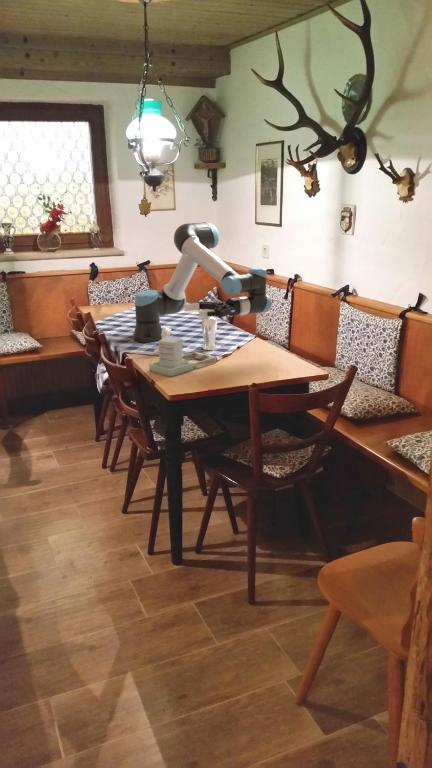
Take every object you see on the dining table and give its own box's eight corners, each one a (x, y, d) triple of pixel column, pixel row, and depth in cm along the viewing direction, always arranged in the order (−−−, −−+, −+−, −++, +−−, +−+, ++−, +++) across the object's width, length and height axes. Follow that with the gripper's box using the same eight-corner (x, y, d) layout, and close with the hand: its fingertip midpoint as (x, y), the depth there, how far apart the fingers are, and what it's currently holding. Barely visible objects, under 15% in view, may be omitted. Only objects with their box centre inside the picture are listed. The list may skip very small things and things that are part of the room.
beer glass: (215, 351, 275) (215, 319, 270) (200, 350, 276) (200, 318, 272) (218, 347, 282) (218, 316, 277) (204, 346, 283) (203, 315, 278)
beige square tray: (174, 363, 257) (174, 357, 256) (195, 357, 266) (194, 351, 265) (195, 369, 249) (195, 363, 248) (216, 362, 258) (216, 357, 257)
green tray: (149, 370, 247) (149, 363, 246) (171, 364, 256) (171, 357, 255) (170, 377, 239) (170, 370, 238) (192, 370, 248) (192, 363, 247)
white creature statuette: (160, 349, 279) (159, 324, 275) (177, 350, 277) (177, 325, 273) (152, 354, 270) (151, 328, 266) (170, 356, 268) (170, 329, 264)
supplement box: (167, 365, 252) (167, 336, 247) (183, 368, 248) (182, 338, 244) (158, 370, 245) (157, 340, 241) (174, 372, 242) (173, 342, 238)
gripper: (252, 321, 244) (205, 326, 234) (222, 309, 265) (179, 313, 255) (252, 303, 241) (205, 308, 232) (223, 292, 262) (179, 296, 253)
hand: (191, 311), depth 243 cm, fingers open, 13 cm apart
